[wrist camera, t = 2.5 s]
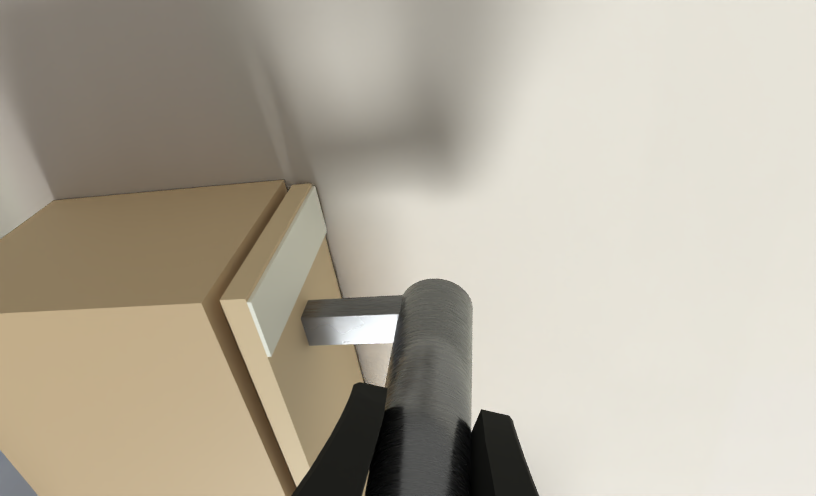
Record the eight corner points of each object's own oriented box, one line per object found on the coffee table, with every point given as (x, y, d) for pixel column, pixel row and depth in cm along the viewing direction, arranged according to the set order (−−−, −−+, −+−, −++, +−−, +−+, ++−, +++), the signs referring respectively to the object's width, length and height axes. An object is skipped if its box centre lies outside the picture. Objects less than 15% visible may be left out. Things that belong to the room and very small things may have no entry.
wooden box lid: (363, 437, 23) (299, 744, 14) (292, 184, 17) (111, 471, 8) (491, 436, 22) (498, 762, 14) (464, 169, 16) (451, 472, 8)
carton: (184, 439, 24) (108, 580, 19) (53, 200, 18) (-109, 319, 13) (359, 437, 23) (326, 589, 18) (283, 179, 17) (201, 302, 12)
